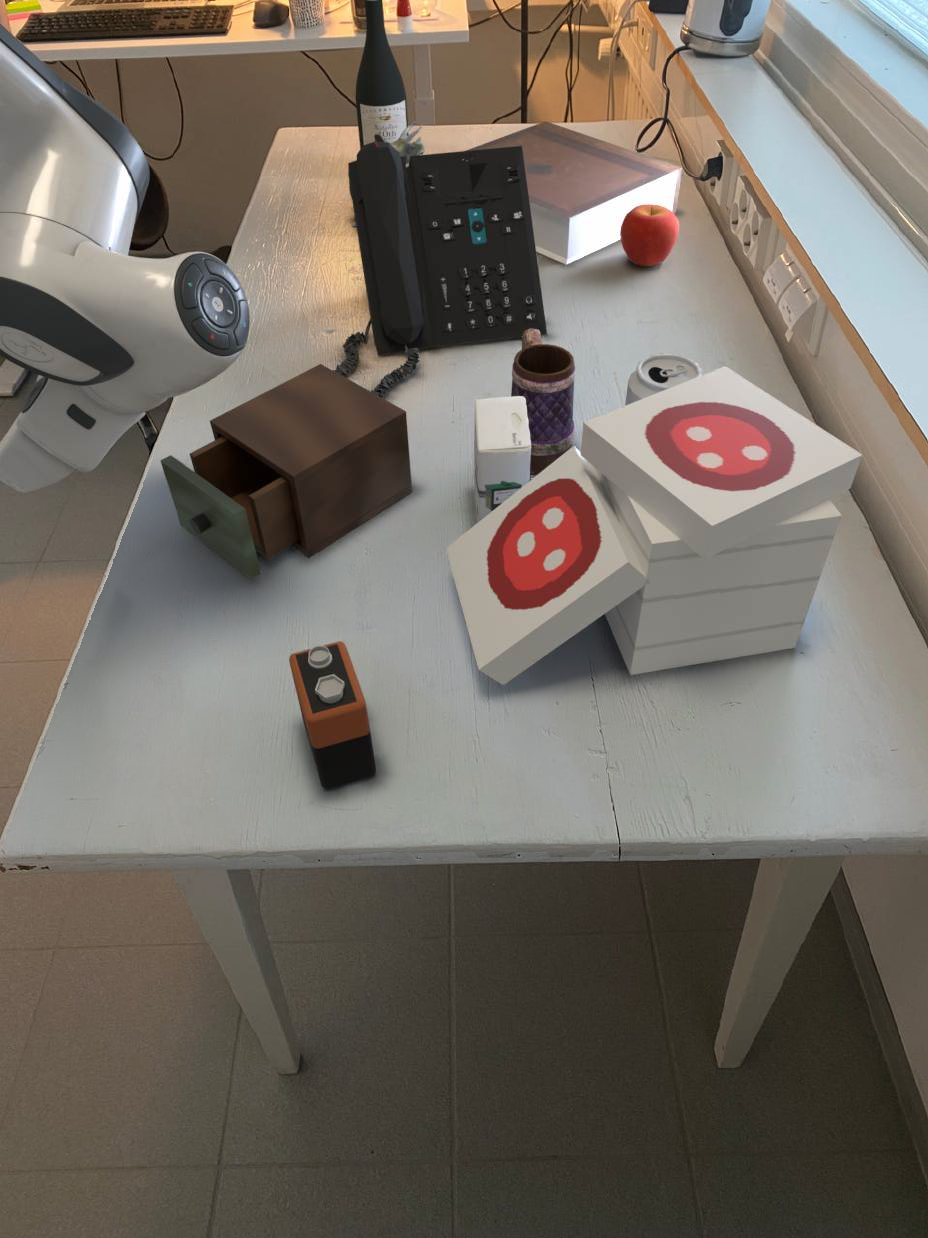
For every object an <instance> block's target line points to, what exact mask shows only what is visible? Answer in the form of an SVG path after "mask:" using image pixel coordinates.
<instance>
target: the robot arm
mask: <svg viewBox="0 0 928 1238" xmlns="http://www.w3.org/2000/svg"><path fill="white" fill-rule="evenodd" d="M150 175H151V174H150V167H149V163H148V160H147V158H146V155H145V154H144V152H143V150H142V148H141V146H140V144H139V143H138V141H137V140H136V137H134V135H133V133H132V132H131V131H130V129H129V128H128V127H127V126H126V125H125V123H124V122H123V121H122V120H121V119H120V118H119V117H118V116H117V115H116V114H115V113H114V112H112V111H111V110H110V109H109V108H107V107H106V106H104V105H103V104H102V103H100V102H99V101H97V100H95V98H93V97H91V96H89V95H88V94H86V93H85V92H83V91H81V90H80V89H78V88H77V87H75V86H74V85H72V84H71V83H69V82H67V80H65V79H64V78H62V77H61V76H60V75H58V74H57V72H55V71H54V70H53V69H51V67H49V66H48V65H47V64H46V63H45V62H44V61H43V60H41V59H40V58H39V57H38V56H37V55H36V54H35V53H33V51H31V50H30V49H29V48H28V47H27V46H26V45H25V44H24V43H22V42H21V41H20V40H19V39H18V38H17V37H16V36H15V35H14V34H13V33H12V32H11V31H9V30H8V29H7V28H6V27H5V26H4V25H2V24H1V23H0V356H1V358H4V359H5V360H7V361H9V362H10V363H12V364H15V365H16V366H18V367H20V368H22V369H24V370H26V371H28V372H30V373H33V374H36V375H38V376H37V378H36V381H35V384H34V385H33V387H32V389H31V391H30V392H29V395H28V397H27V399H26V401H25V402H24V404H23V406H22V408H21V410H20V413H19V414H18V416H17V417H16V418H15V420H14V421H13V423H12V425H11V426H10V428H9V429H8V430H7V432H6V433H5V434H4V436H3V437H2V439H1V441H0V481H1V482H2V483H4V484H5V485H6V486H8V487H10V488H11V489H13V490H15V491H17V492H19V493H22V494H30V493H34V492H37V491H39V490H42V489H46V488H48V487H50V486H52V485H54V484H57V483H59V482H61V481H63V480H65V479H66V478H67V477H68V476H70V475H72V473H73V472H74V471H75V470H77V471H78V472H80V473H82V474H87V473H90V472H92V471H94V470H95V469H96V468H97V467H98V466H99V464H101V462H102V461H103V460H104V459H105V458H106V457H107V455H108V454H109V452H110V451H111V450H112V449H113V448H114V447H115V445H116V444H117V443H118V441H119V440H120V439H121V438H122V437H123V435H125V433H126V432H127V431H128V430H129V429H130V428H132V427H133V426H134V425H135V424H137V423H138V422H139V421H140V420H141V419H143V418H144V417H145V416H146V412H148V411H150V410H153V409H155V408H156V407H159V406H160V405H162V404H163V403H165V402H166V401H167V400H168V399H169V398H175V397H179V396H182V395H185V394H187V393H190V392H191V391H193V390H195V389H198V388H200V387H201V386H204V385H205V384H207V383H209V382H210V381H212V380H214V379H215V378H217V377H219V376H221V374H223V373H224V372H225V371H226V370H228V369H229V368H230V367H231V366H232V365H233V364H234V363H235V362H236V361H237V360H238V359H239V357H240V356H241V355H242V353H243V351H244V349H245V348H246V345H247V342H248V338H249V332H250V320H251V319H250V316H251V315H250V308H249V303H248V300H247V297H246V294H245V291H244V289H243V287H242V284H241V282H240V281H239V279H238V277H237V276H236V275H235V273H234V272H233V270H232V269H231V268H230V267H229V266H228V265H227V263H225V262H224V261H223V260H222V259H220V258H219V257H217V256H215V255H214V254H211V253H208V252H205V251H188V252H183V253H179V254H176V255H173V256H170V257H166V258H153V257H152V258H150V257H139V256H132V255H129V251H130V248H131V242H132V237H133V232H134V228H135V225H136V223H137V222H138V218H139V215H140V212H141V209H142V207H143V203H144V201H145V196H146V193H147V192H148V191H147V190H148V187H149V184H150V177H151V176H150Z"/></svg>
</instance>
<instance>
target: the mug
mask: <svg viewBox="0 0 928 1238" xmlns="http://www.w3.org/2000/svg"><path fill="white" fill-rule="evenodd" d="M575 378H576V365H575V357H574V356H573V354H572V353H571V352H570V351H569V350H567V349H565V347H564V348H563V347H562V346H559V345H555V344H548V343H543V339H542V334H540V330H536V329H533V328H531V329H528V330H525V331H523V337H521V349H520V350H519V351H518V352H516V353H515V356H514V358H513V363H512V369H511V379H512V380H511V392H510V397H512V396H523V397H524V398H525V399H526V406H527V417H528V421H529V424H528V425H529V430H530V440H531V456H530V473H533V474H539V473H541V472H542V471H543V470H544V469H546V468H547V467H548V466H549V465H551V464H552V463H553V462H554V461H556V460H557V459H558V458H559V457H560V456H562V455H563V454H564V453H565V452H567V451H568V450H569V449H570V448H572V447H573V443H574V439H575V421H574V400H575V399H574V398H575V397H574V396H575V395H574V394H575Z"/></svg>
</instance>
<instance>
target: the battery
mask: <svg viewBox="0 0 928 1238" xmlns="http://www.w3.org/2000/svg"><path fill="white" fill-rule="evenodd" d="M288 662H289V668H290V670H291V675H292V679H293V684H294V688H295V691H296V696H297V700H298V705H299V709H300V713H301V717H302V722H303V726H304V730H305V734H306V738H307V740H308V743H309V747H310V748H309V749H310V751H311V754H312V757H313V762H314V765H315V768H316V772H317V776H318V779H319V782H320V785H321V786H322V789H324V790H327V791H328V790H332V789H334V788H338V787H341V786H344V785H345V786H346V785H348V784H352V783H355V782H358V781H362V780H366V779H368V778H372V777H374V776H375V775H376V773H377V766H376V760H375V754H374V746H373V740H372V734H371V728H370V727H371V725H370V721H369V714H368V707H367V702H366V699H365V696H364V693H363V690H362V688H361V684H360V682H359V679H358V676H357V674H356V673H357V672H356V669H355V667H354V664H353V662H352V659H351V656H350V653H349V651H348V648H347V646H346V644H345V643H344V642H343V641H341V640H340V641H339V640H338V641H335V642H331V643H327V644H324V645H315V646H313V647H312V648H308V649H304V650H301V651H297V652H294V653H291V654H290V655H289V658H288Z"/></svg>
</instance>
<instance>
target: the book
mask: <svg viewBox="0 0 928 1238" xmlns="http://www.w3.org/2000/svg"><path fill="white" fill-rule="evenodd" d="M515 146H522V150H523V158H524V165H525V173H526V180H527V187H528V195H529V202H530V210H531V217H532V225H533V232H534V240H535V247H536V253H539V254H541V255H543V256H546V257H548V258H550V259H552V260H555V261H556V262H559V263H561V264H563V265H569V264H571V263H573V262H575V261H578V260H580V259H582V258H583V257H585V256H588V255H590V254H592V253H595V252H597V251H598V250H601V249H603V248H605V247H607V246H609V245H611V244H613V243H616V242H618V241H619V240H620V241H621V239H620V228H621V225H622V222H623V220H624V217H625V216H626V214H627V213H628V212H629V211H631V210H632V209H633V208H634V207H636V206H639V205H642V204H657V205H661V206H664V207H666V208H668V209H670V210H671V211H672V212H673V214H674V215H675V214H677V210H678V209H677V208H678V201H679V196H680V188H681V183H682V182H681V181H682V176H683V175H682V174H683V167H681V166H678V165H675V164H672V163H670V162H667V161H663V160H661V159H658V158H655V157H651V156H649V155H646V154H644V153H640V152H637V151H634V150H631V149H628V148H625V147H622V146H620V145H616V144H613V143H611V142H609V141H604V140H602V139H599V138H595V137H593V136H590V135H587V134H584V133H582V132H578V131H575V130H572V129H569V128H566V127H563V126H561V125H558V124H555V123H552V122H549V121H547V120H545V121H542V122H540V123H537V124H534V125H531V126H529V127H526V128H523V129H521V130H517V131H515V132H512V133H510V134H506V135H503V136H501V137H498V138H496V139H494V140H491V141H488V142H485V143H483V144H480V145H477V146H475V147H472V148H469V149H466V150H465V151H471V150H482V149H493V148H504V147H515Z"/></svg>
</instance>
